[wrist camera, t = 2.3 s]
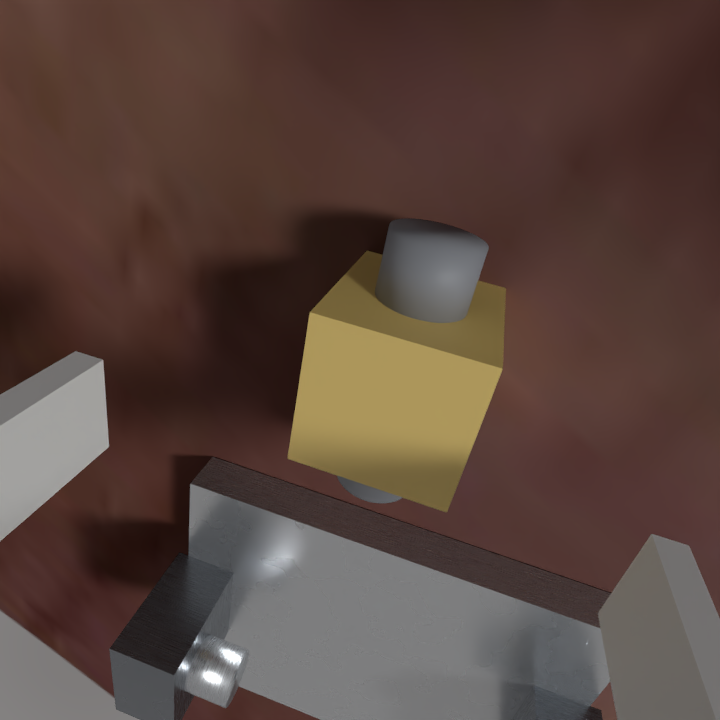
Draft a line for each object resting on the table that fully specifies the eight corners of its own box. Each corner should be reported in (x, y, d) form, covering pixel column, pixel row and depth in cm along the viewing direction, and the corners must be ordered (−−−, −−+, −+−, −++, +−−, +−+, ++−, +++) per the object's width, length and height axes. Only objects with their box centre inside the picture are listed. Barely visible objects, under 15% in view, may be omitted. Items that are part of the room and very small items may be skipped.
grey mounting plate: (196, 631, 32) (121, 758, 26) (203, 453, 25) (100, 572, 19) (523, 761, 29) (526, 937, 23) (642, 604, 22) (693, 803, 16)
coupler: (378, 193, 17) (321, 236, 12) (526, 231, 16) (532, 293, 11) (335, 407, 22) (280, 504, 16) (449, 443, 21) (429, 557, 16)
